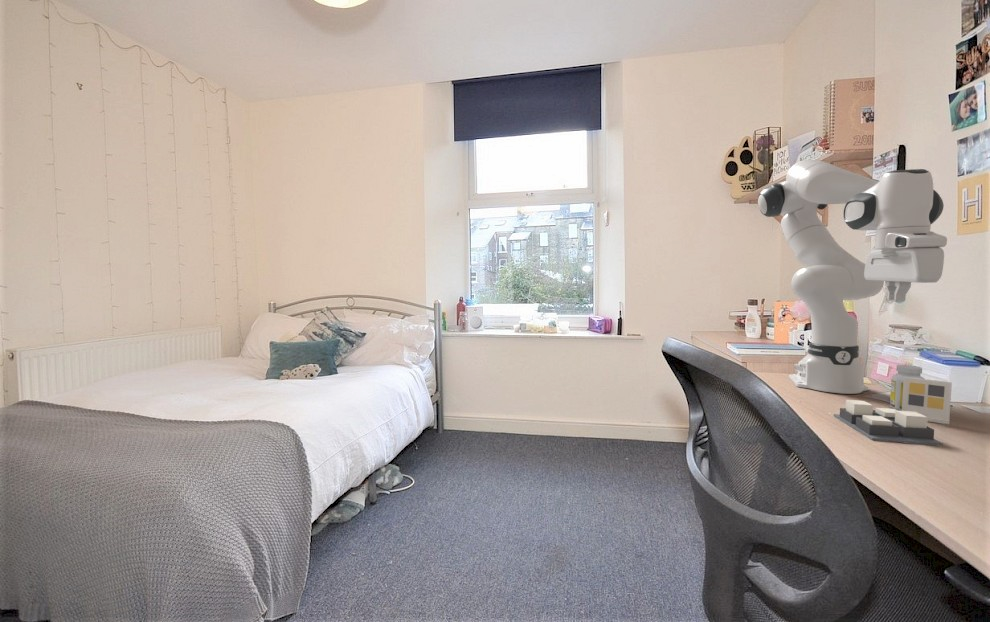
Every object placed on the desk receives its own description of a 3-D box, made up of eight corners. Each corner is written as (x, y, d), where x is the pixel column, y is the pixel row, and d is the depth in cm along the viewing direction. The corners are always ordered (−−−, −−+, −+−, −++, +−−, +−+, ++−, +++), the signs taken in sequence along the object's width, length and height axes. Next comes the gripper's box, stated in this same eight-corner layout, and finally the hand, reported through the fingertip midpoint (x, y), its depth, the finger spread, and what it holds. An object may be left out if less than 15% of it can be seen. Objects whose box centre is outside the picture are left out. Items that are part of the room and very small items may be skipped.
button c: (845, 411, 99) (846, 399, 99) (863, 412, 98) (863, 400, 98) (853, 416, 96) (854, 404, 95) (872, 417, 95) (873, 405, 94)
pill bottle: (932, 414, 102) (935, 369, 101) (902, 413, 103) (904, 369, 103) (911, 406, 108) (913, 364, 108) (883, 405, 110) (885, 363, 109)
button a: (874, 419, 98) (875, 407, 97) (893, 421, 97) (894, 408, 96) (884, 424, 94) (885, 412, 94) (903, 426, 93) (904, 413, 93)
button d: (861, 427, 93) (862, 414, 92) (881, 429, 92) (881, 416, 91) (871, 433, 89) (872, 420, 89) (891, 434, 88) (892, 421, 88)
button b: (894, 423, 91) (895, 410, 91) (914, 424, 90) (915, 411, 90) (905, 429, 87) (906, 415, 87) (926, 430, 86) (927, 417, 86)
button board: (833, 416, 102) (834, 405, 102) (891, 419, 99) (892, 409, 99) (872, 440, 87) (872, 427, 87) (942, 445, 84) (943, 433, 83)
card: (901, 415, 102) (903, 376, 101) (948, 422, 96) (951, 381, 95) (901, 416, 101) (903, 377, 100) (949, 424, 95) (951, 383, 94)
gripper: (858, 244, 103) (854, 298, 104) (915, 238, 83) (909, 304, 85) (888, 243, 101) (884, 298, 102) (954, 237, 81) (947, 305, 83)
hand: (896, 301), depth 93 cm, fingers closed
